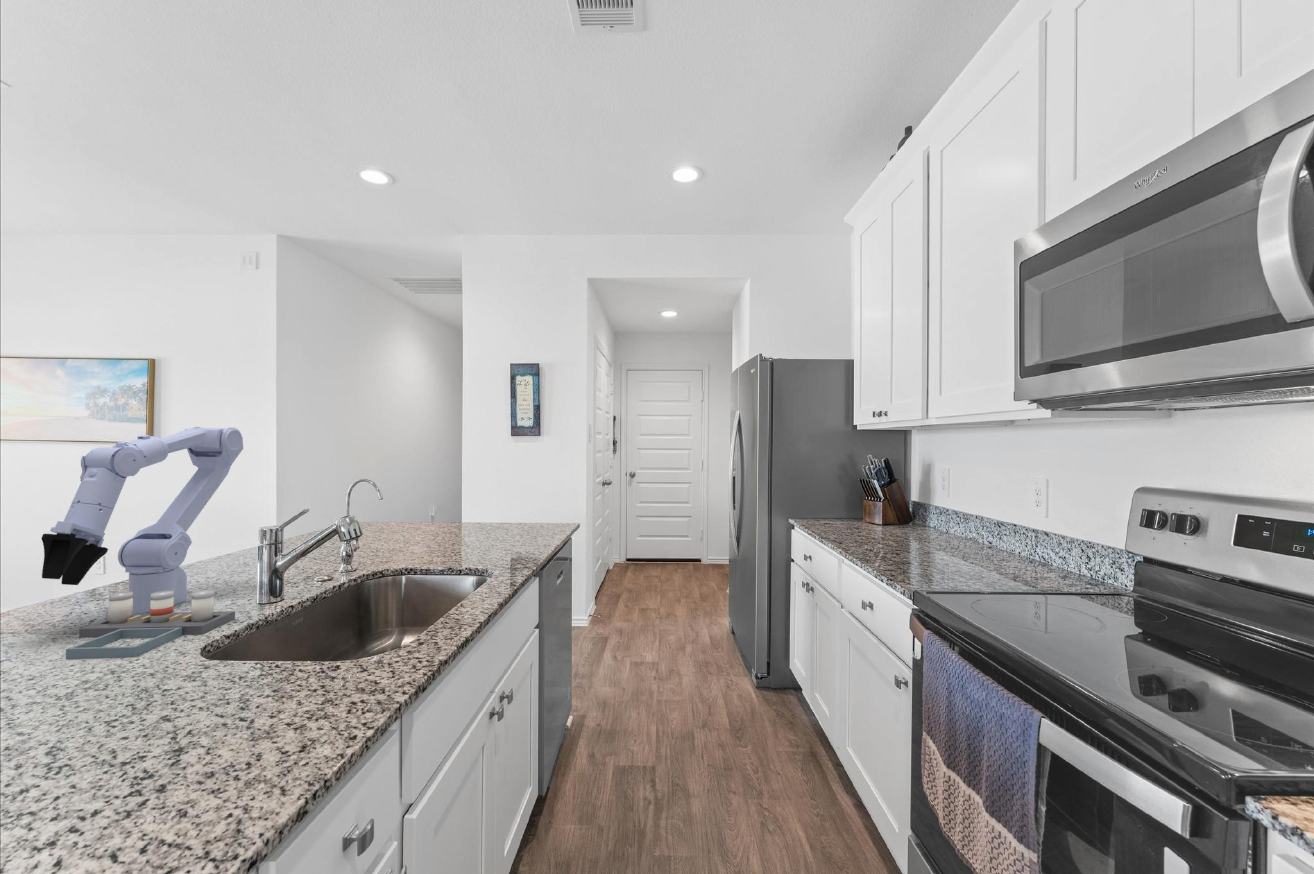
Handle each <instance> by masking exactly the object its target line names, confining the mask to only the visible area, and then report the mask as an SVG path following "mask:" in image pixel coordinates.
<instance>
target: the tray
mask: <svg viewBox="0 0 1314 874" xmlns="http://www.w3.org/2000/svg"><path fill="white" fill-rule="evenodd" d="M182 636H183V635H182V627H172V628H130V629H119V630H116V631H113V632H111V633H108V634H105V635H103V636H100V637H94V638H92V639H89V640H86V641H85V642H82V643H78V644H76V645H74V646H71V647H69V648H66V649H65V660H78V659H79V660H81V659H87V660H88V659H115V658H116V659H117V658H118V659H119V658H136V657H138V656H141V655H142V654H143V655H144V654H145V653H147V652H149V651H153V650H154V649H157V648H158V647H159V648H160V647H161V646H163V645H165V644H167V643H170V642H172V641H174V640H176V639H179V638H181V637H182ZM121 639H148V640H146V641H144V642H143V641H142V642H141V643H139V644H136V645H130V646H129V645H127V646H126V645H125V646H106V645H109V644H112V643H114V642H116V641H118V640H121Z"/></svg>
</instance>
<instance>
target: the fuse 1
mask: <svg viewBox="0 0 1314 874" xmlns="http://www.w3.org/2000/svg"><path fill="white" fill-rule="evenodd" d="M107 609H108V610H107V611H108V612H107V613H108V614H107V615H108V617H107V619H108V624H123V623H126V622H127V619H129V618H131V617H132V611H133V591H128V590H126V591H117V592H116V591H115V592H113V593H109V594H108V608H107Z"/></svg>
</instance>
